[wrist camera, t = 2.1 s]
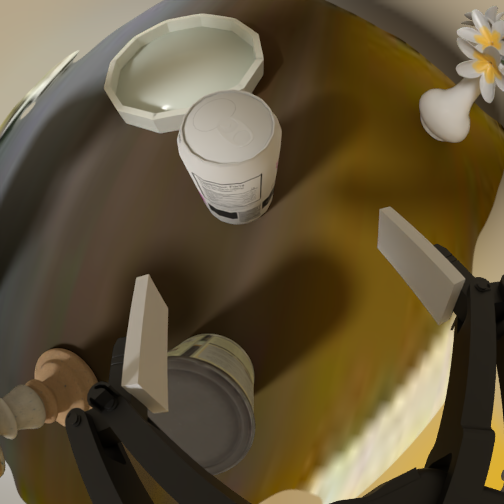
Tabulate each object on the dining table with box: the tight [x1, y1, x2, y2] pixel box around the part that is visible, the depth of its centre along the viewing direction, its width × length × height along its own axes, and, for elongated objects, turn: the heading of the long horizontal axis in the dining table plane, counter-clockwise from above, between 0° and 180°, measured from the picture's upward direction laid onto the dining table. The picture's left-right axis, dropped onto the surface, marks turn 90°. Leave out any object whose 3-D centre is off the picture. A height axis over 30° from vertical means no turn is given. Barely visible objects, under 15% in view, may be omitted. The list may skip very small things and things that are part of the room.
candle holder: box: [0, 348, 98, 477], centre depth 21 cm, size 12×12×20 cm
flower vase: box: [419, 6, 504, 143], centre depth 24 cm, size 13×18×25 cm
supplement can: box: [177, 89, 282, 224], centre depth 27 cm, size 8×8×15 cm
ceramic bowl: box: [104, 14, 264, 133], centre depth 36 cm, size 24×24×4 cm
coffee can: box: [148, 334, 255, 475], centre depth 24 cm, size 10×10×14 cm
